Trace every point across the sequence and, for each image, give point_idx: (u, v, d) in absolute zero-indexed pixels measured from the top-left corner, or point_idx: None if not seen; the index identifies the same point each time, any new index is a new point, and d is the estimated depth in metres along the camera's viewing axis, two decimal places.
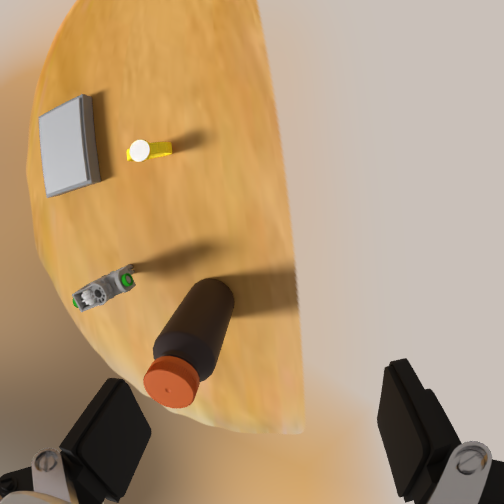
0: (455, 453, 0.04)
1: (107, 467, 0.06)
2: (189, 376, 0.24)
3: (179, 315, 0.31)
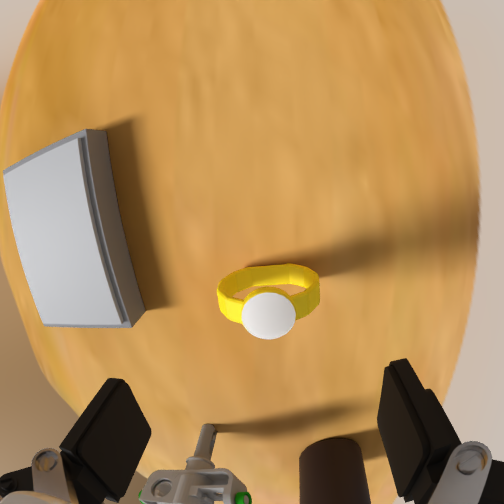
0: (455, 453, 0.04)
1: (107, 467, 0.06)
2: None
3: None
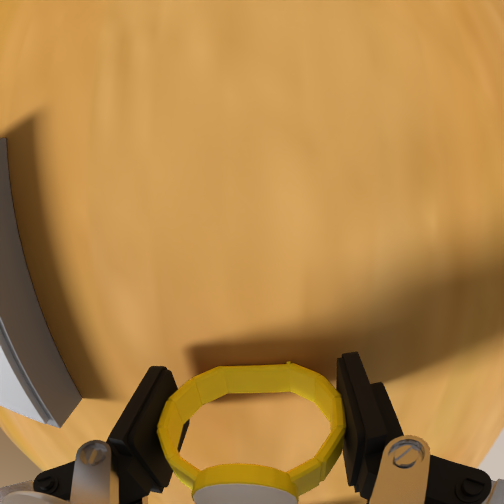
0: (391, 445, 0.05)
1: (154, 456, 0.07)
2: None
3: None
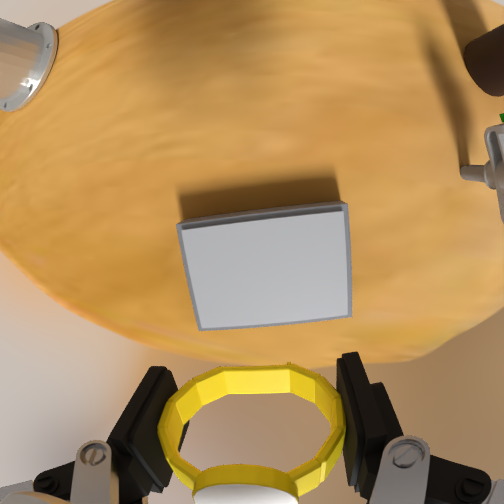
0: (391, 445, 0.05)
1: (155, 456, 0.07)
2: None
3: None
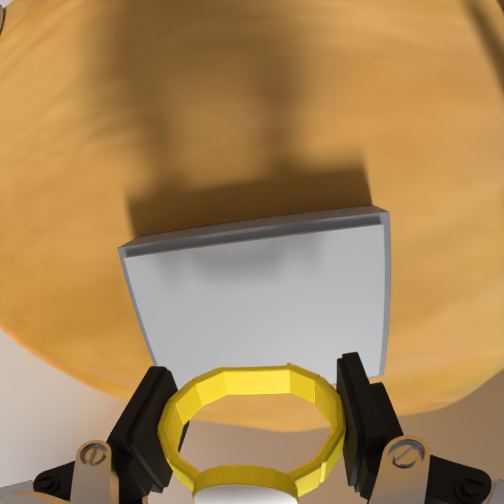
0: (391, 445, 0.05)
1: (154, 456, 0.07)
2: None
3: None
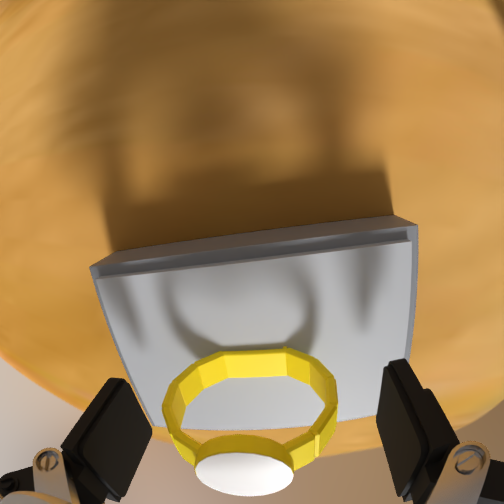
0: (453, 453, 0.04)
1: (108, 467, 0.06)
2: None
3: None
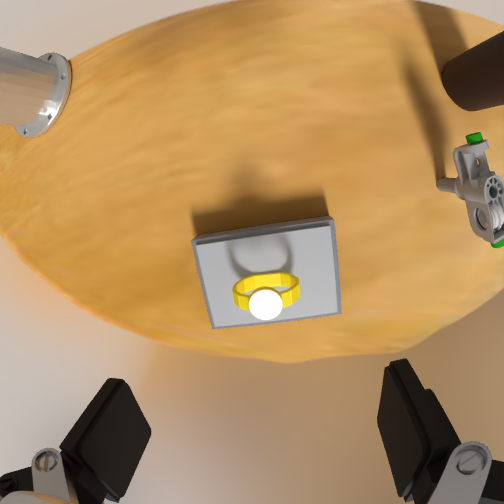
0: (455, 453, 0.04)
1: (107, 467, 0.06)
2: None
3: (500, 63, 0.13)
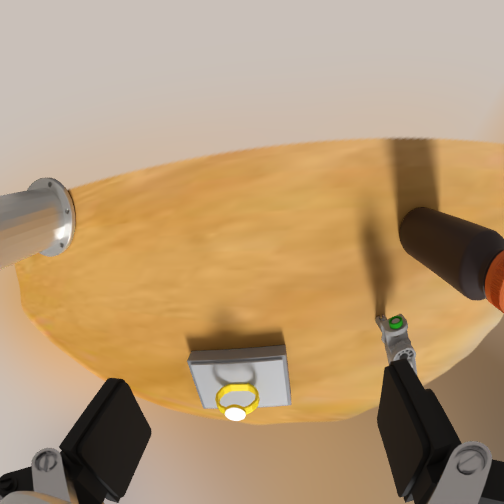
0: (455, 453, 0.04)
1: (107, 467, 0.06)
2: None
3: (440, 265, 0.24)
